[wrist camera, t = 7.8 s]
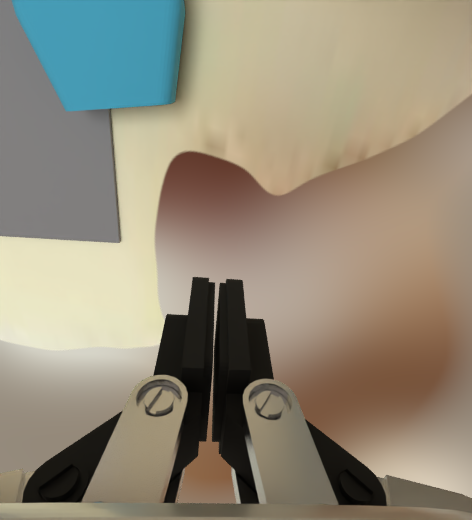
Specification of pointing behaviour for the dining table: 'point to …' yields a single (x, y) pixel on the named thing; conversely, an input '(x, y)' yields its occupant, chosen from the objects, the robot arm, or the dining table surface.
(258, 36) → the dining table surface
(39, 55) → the block
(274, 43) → the dining table surface
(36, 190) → the gray square mat
